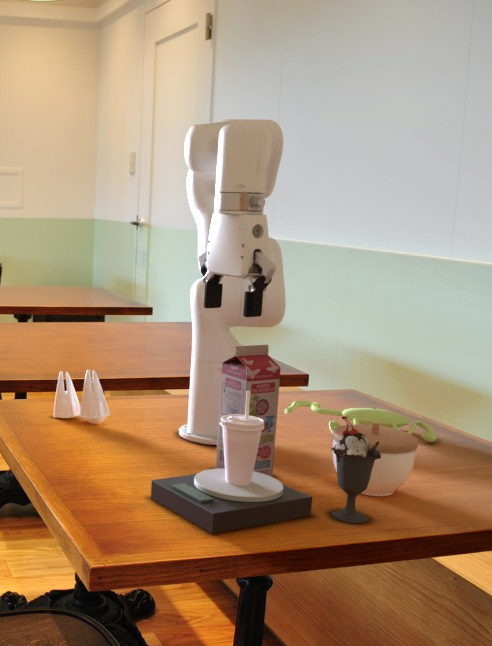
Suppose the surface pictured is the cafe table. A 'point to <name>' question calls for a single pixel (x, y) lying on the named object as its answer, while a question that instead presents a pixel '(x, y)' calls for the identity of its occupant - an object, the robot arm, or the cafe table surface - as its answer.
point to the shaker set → (91, 403)
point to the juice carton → (251, 399)
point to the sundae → (353, 470)
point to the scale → (230, 500)
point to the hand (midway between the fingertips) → (231, 312)
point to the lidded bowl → (385, 456)
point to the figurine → (367, 418)
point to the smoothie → (241, 445)
